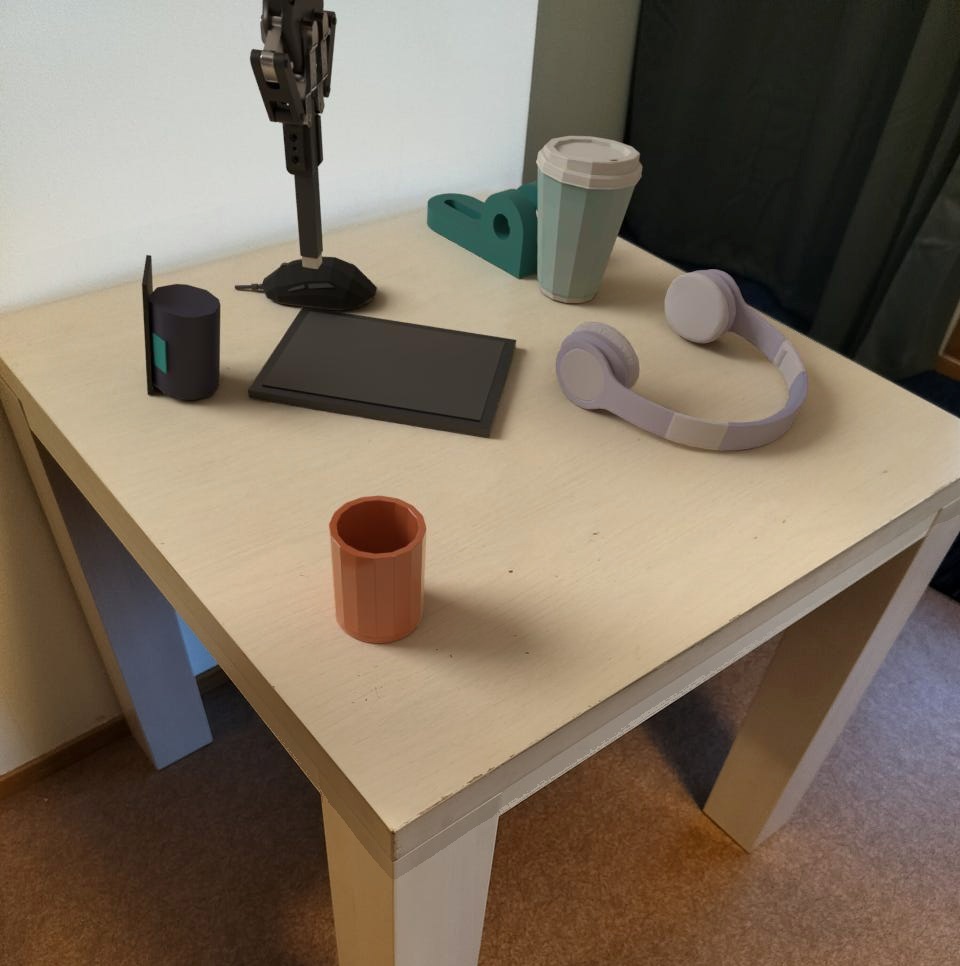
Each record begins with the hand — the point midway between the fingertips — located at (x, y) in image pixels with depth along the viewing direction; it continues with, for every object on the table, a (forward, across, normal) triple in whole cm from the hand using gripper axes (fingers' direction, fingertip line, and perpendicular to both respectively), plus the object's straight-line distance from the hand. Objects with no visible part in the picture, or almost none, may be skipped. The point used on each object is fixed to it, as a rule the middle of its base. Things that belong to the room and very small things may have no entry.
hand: (305, 168), depth 73 cm
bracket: (+18, -31, +11) cm, 37 cm away
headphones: (+18, -5, +36) cm, 40 cm away
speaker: (+18, +7, -10) cm, 21 cm away
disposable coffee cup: (+18, -22, +22) cm, 36 cm away
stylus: (+8, 0, 0) cm, 8 cm away
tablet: (+17, 0, +7) cm, 19 cm away
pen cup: (+17, +31, +14) cm, 38 cm away
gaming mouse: (+18, -12, -5) cm, 22 cm away
